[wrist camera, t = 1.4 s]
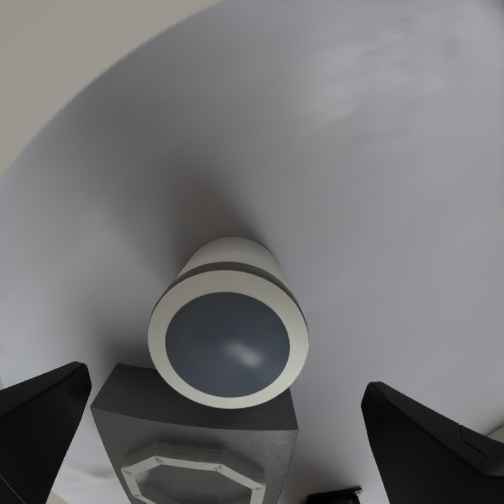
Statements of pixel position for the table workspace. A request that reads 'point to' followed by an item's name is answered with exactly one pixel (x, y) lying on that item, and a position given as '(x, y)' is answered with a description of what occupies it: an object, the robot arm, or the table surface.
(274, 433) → the octagonal rim base plate
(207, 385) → the lens
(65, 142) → the table surface
